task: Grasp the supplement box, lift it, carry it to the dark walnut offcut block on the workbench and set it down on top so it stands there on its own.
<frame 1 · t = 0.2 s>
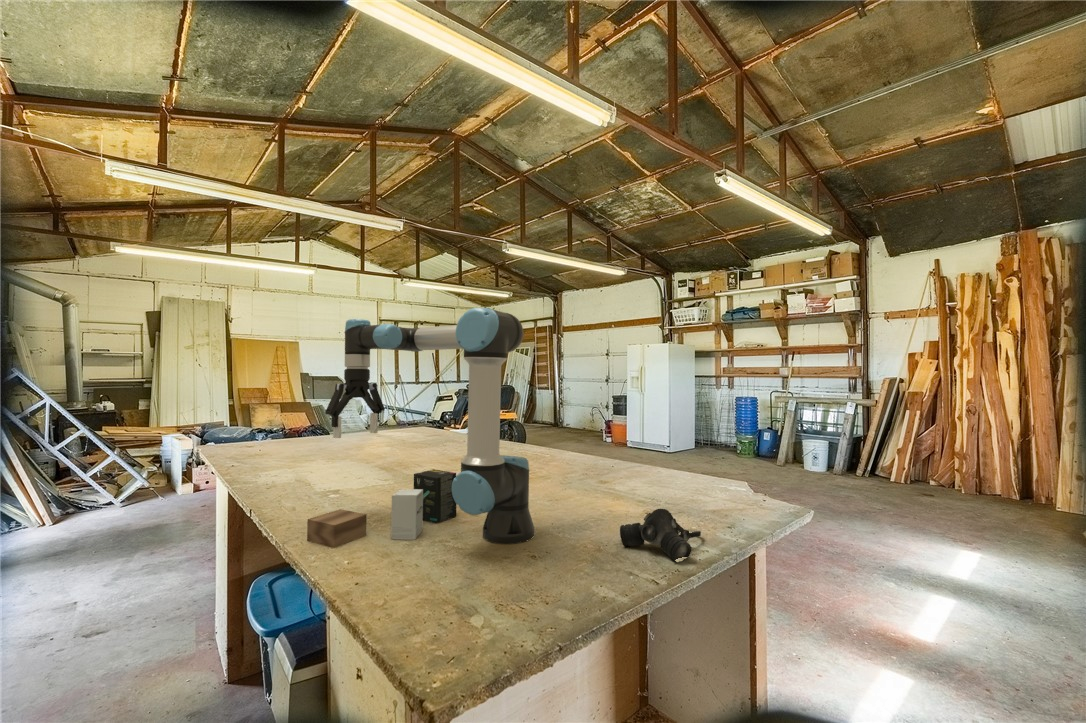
hand: (356, 435, 147), 27 cm above the workbench, fingers open, 13 cm apart
supplement box: (407, 536, 135), on the workbench
respirator mask: (668, 545, 130), on the workbench
walnut block: (337, 537, 133), on the workbench
tampon box: (434, 518, 152), on the workbench
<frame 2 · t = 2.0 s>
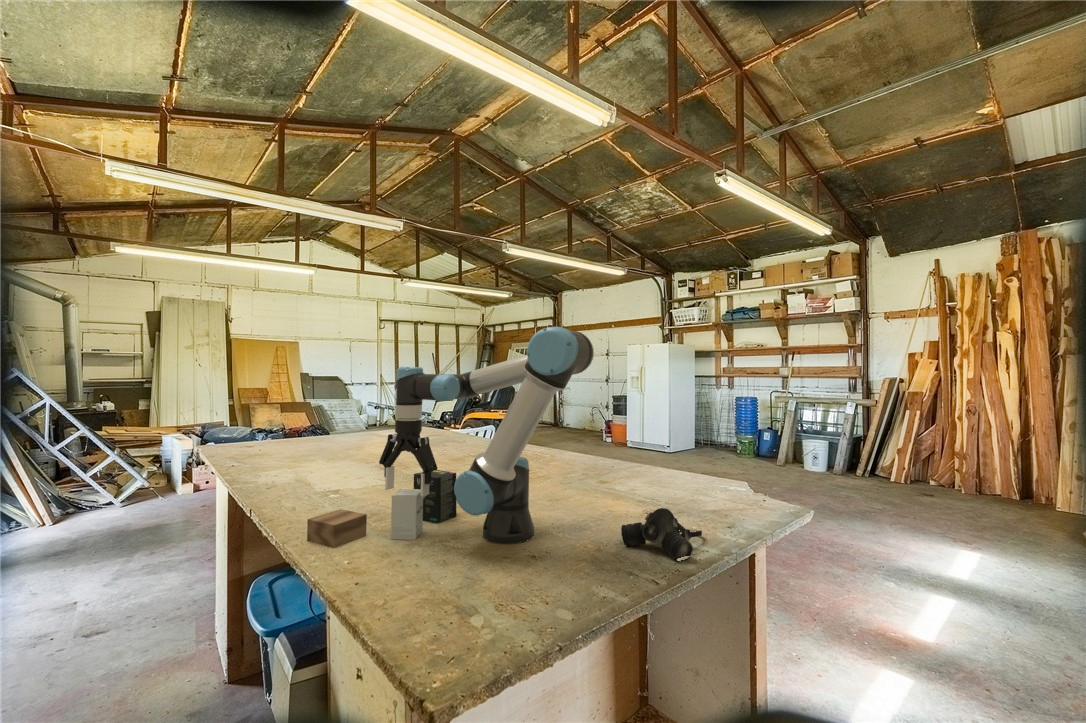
hand: (406, 492, 136), 12 cm above the workbench, fingers open, 13 cm apart
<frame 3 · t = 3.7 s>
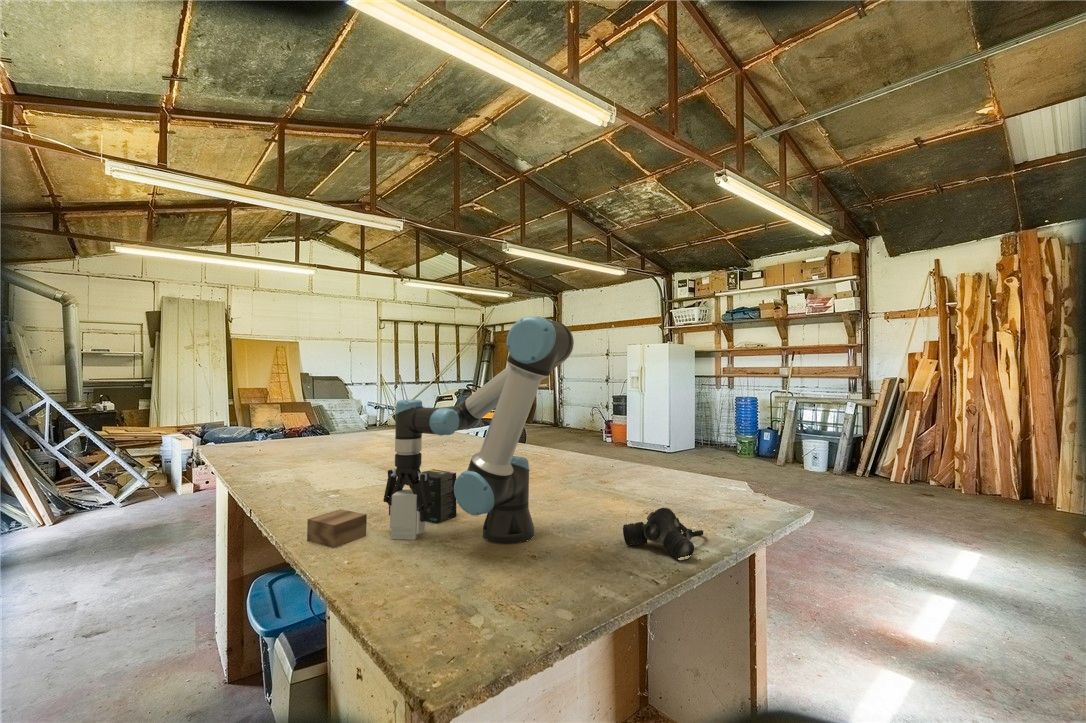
hand: (407, 529, 135), 2 cm above the workbench, fingers closed on supplement box, 9 cm apart
supplement box: (407, 536, 135), on the workbench, touching gripper
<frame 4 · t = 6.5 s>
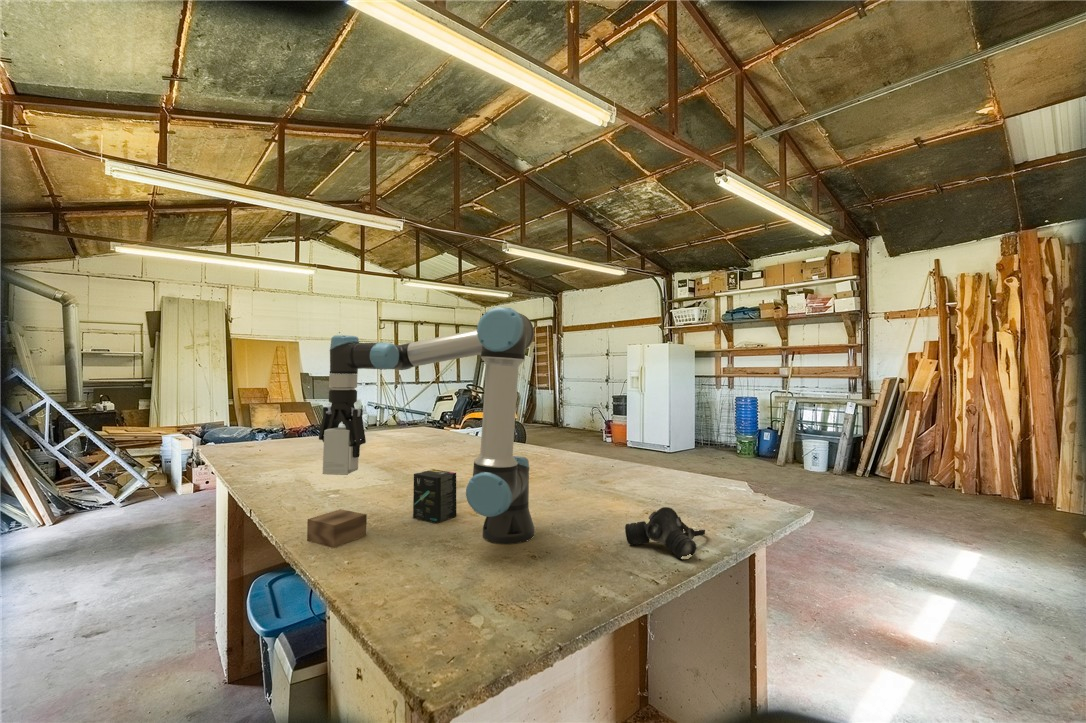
hand: (340, 466, 133), 20 cm above the workbench, fingers closed on supplement box, 9 cm apart
supplement box: (340, 473, 133), point 18 cm above the workbench, touching gripper
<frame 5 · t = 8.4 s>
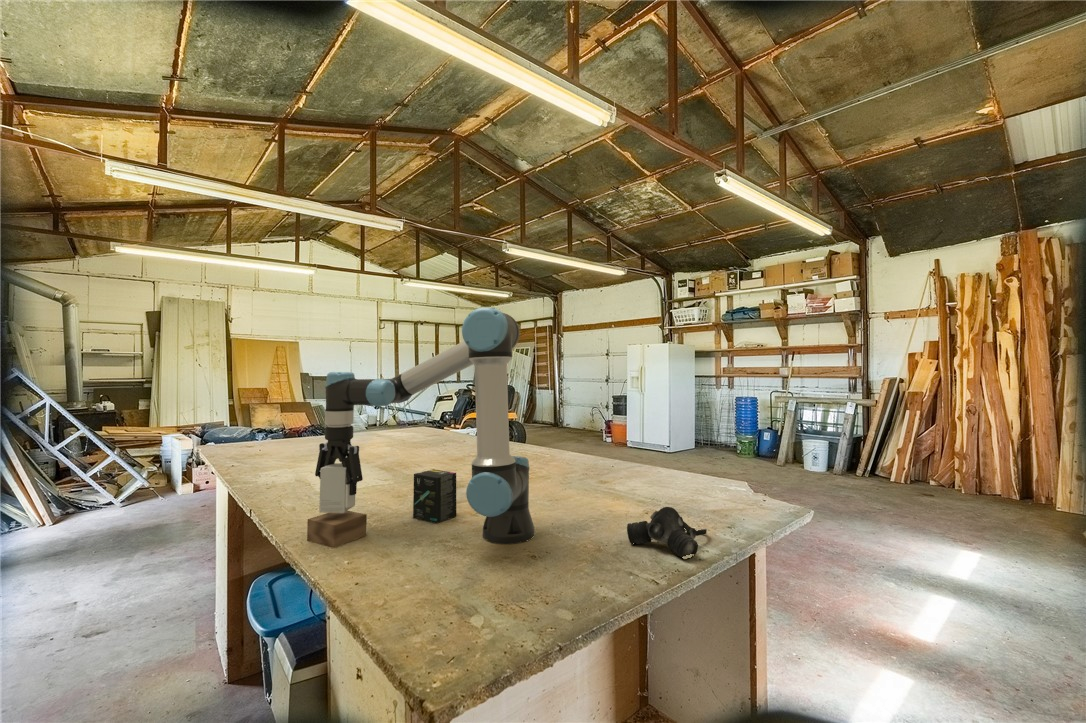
hand: (337, 503, 133), 10 cm above the workbench, fingers closed on supplement box, 9 cm apart
supplement box: (337, 510, 133), point 8 cm above the workbench, touching gripper
when the fingers open (9 cm above the workbench, at t = 9.5 s): supplement box drops 1 cm, resting on walnut block.
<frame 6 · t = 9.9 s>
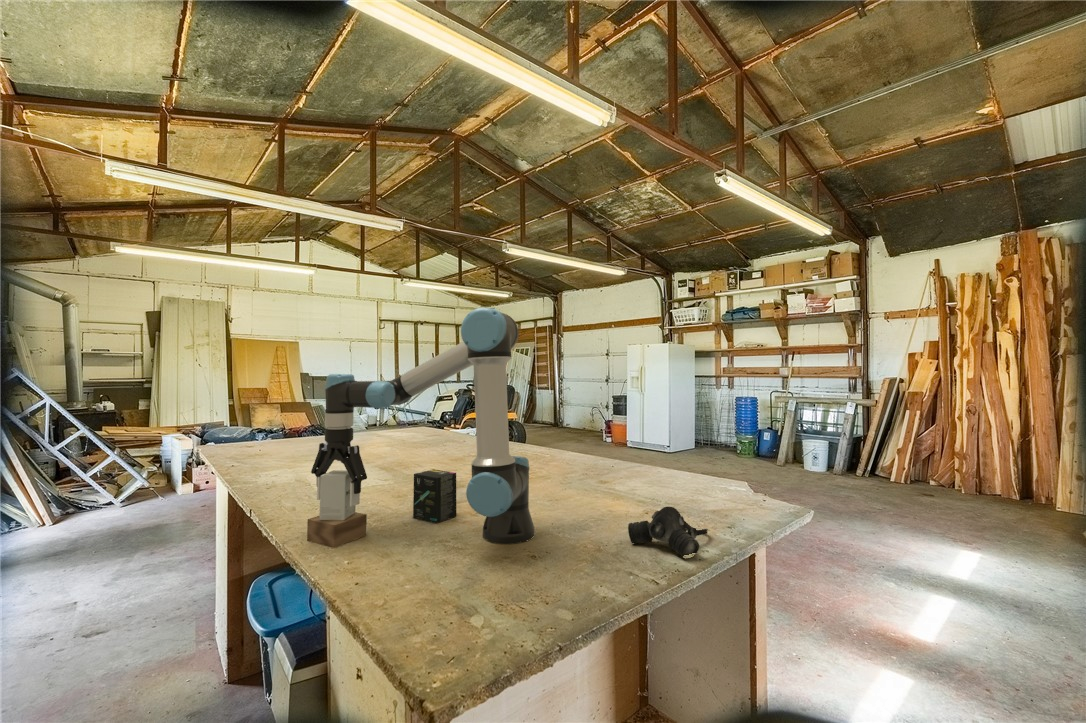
hand: (337, 502, 133), 10 cm above the workbench, fingers open, 13 cm apart
supplement box: (338, 517, 133), point 6 cm above the workbench, touching walnut block
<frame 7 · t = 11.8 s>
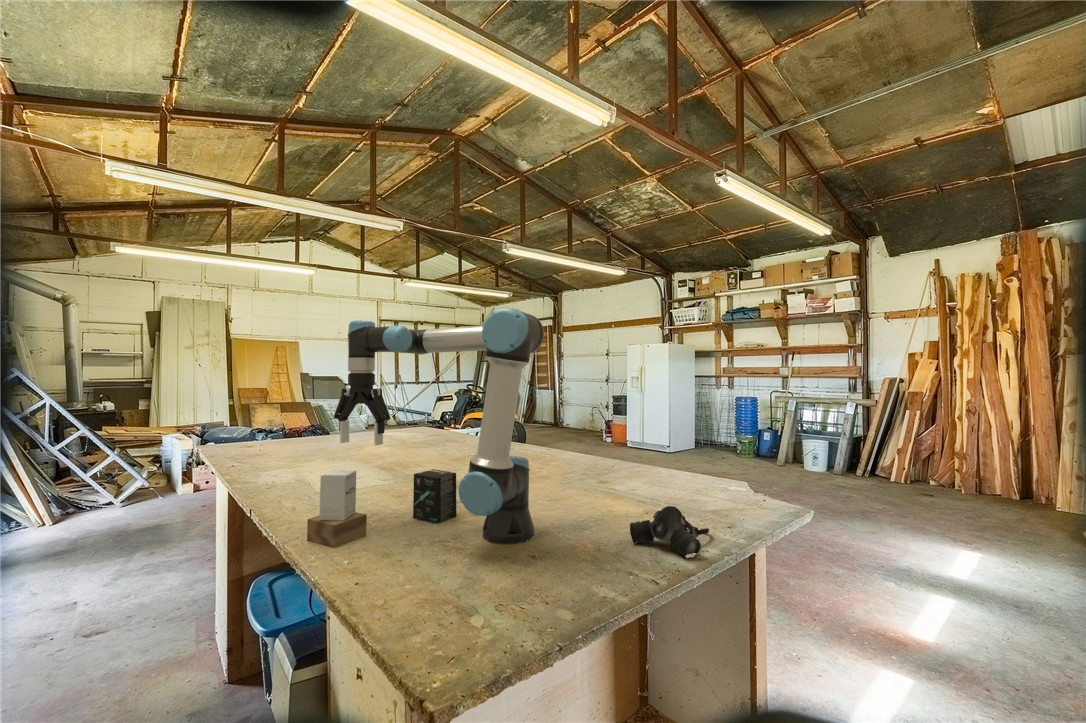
hand: (361, 443, 138), 26 cm above the workbench, fingers open, 13 cm apart
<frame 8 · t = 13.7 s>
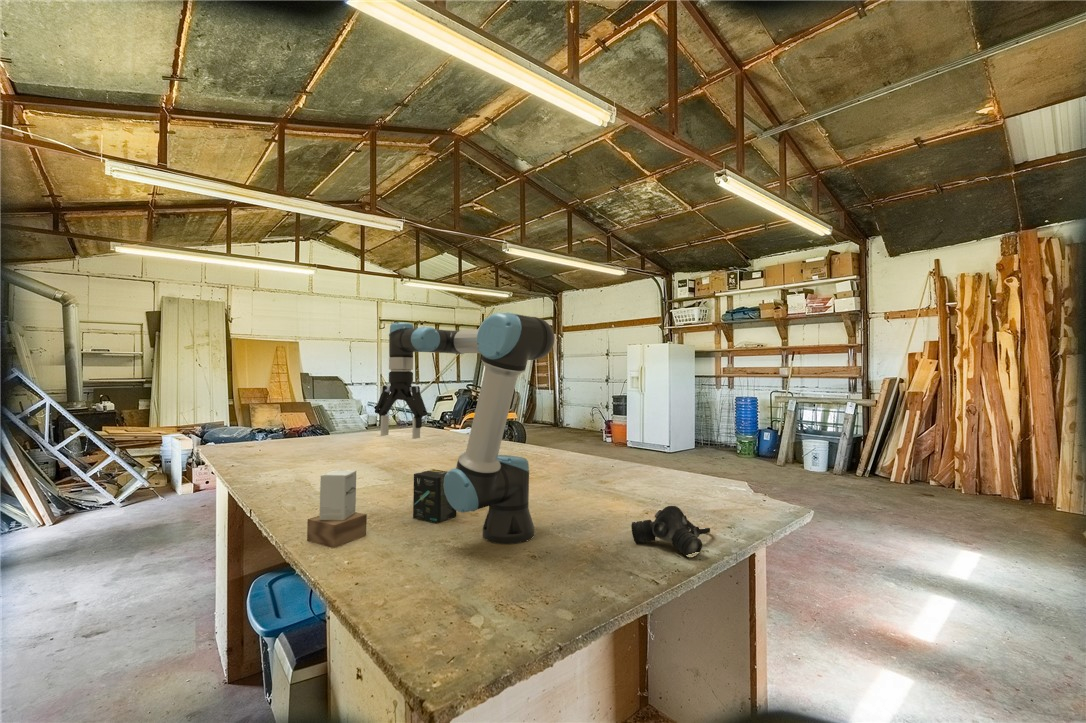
hand: (400, 436, 149), 27 cm above the workbench, fingers open, 13 cm apart
at the end: supplement box 0.1 cm from the walnut block (horizontally); supplement box touching walnut block; supplement box tilted 0° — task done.
